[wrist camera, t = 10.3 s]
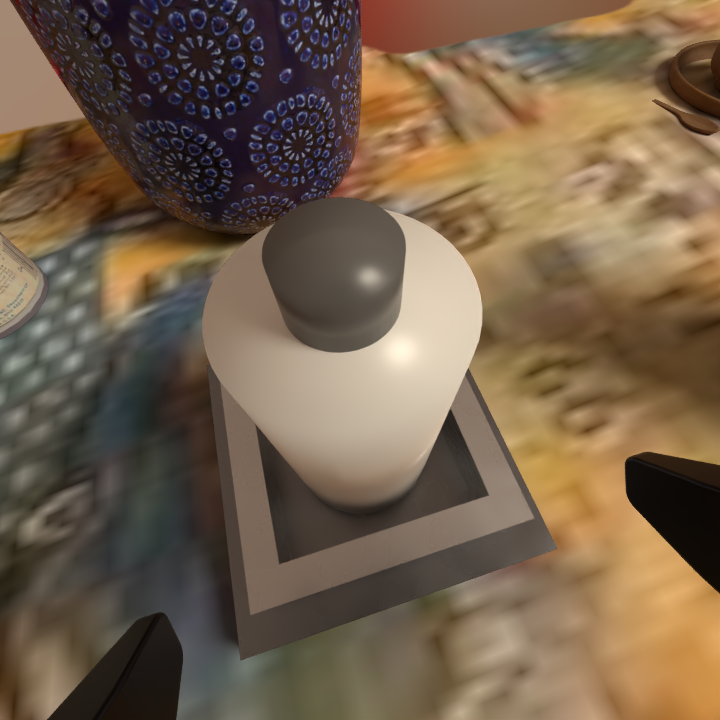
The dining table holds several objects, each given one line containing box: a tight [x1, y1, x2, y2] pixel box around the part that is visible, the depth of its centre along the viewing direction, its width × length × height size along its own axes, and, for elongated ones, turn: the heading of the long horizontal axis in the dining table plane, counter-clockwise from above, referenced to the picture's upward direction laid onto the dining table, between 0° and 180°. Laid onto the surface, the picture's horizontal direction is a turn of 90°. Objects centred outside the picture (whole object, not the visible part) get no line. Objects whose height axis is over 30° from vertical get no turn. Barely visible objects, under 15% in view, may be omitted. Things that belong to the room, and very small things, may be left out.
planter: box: [10, 0, 362, 234], centre depth 23 cm, size 16×16×15 cm
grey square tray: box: [207, 365, 557, 660], centre depth 18 cm, size 13×13×4 cm
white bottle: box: [202, 197, 482, 514], centre depth 12 cm, size 6×6×13 cm
